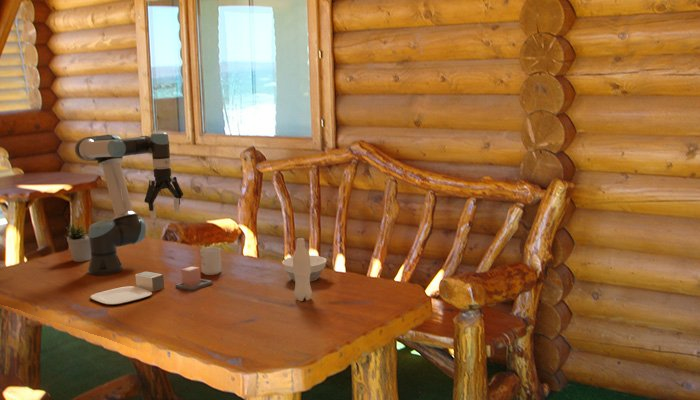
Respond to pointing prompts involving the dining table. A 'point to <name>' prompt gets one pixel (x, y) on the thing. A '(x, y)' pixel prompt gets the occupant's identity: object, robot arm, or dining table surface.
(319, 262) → the bowl
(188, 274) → the stub
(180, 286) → the stub tray
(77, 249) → the potted plant
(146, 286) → the grey-panelled beige block
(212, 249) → the mug
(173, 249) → the dining table surface
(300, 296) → the water bottle
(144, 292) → the plate
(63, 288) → the dining table surface
